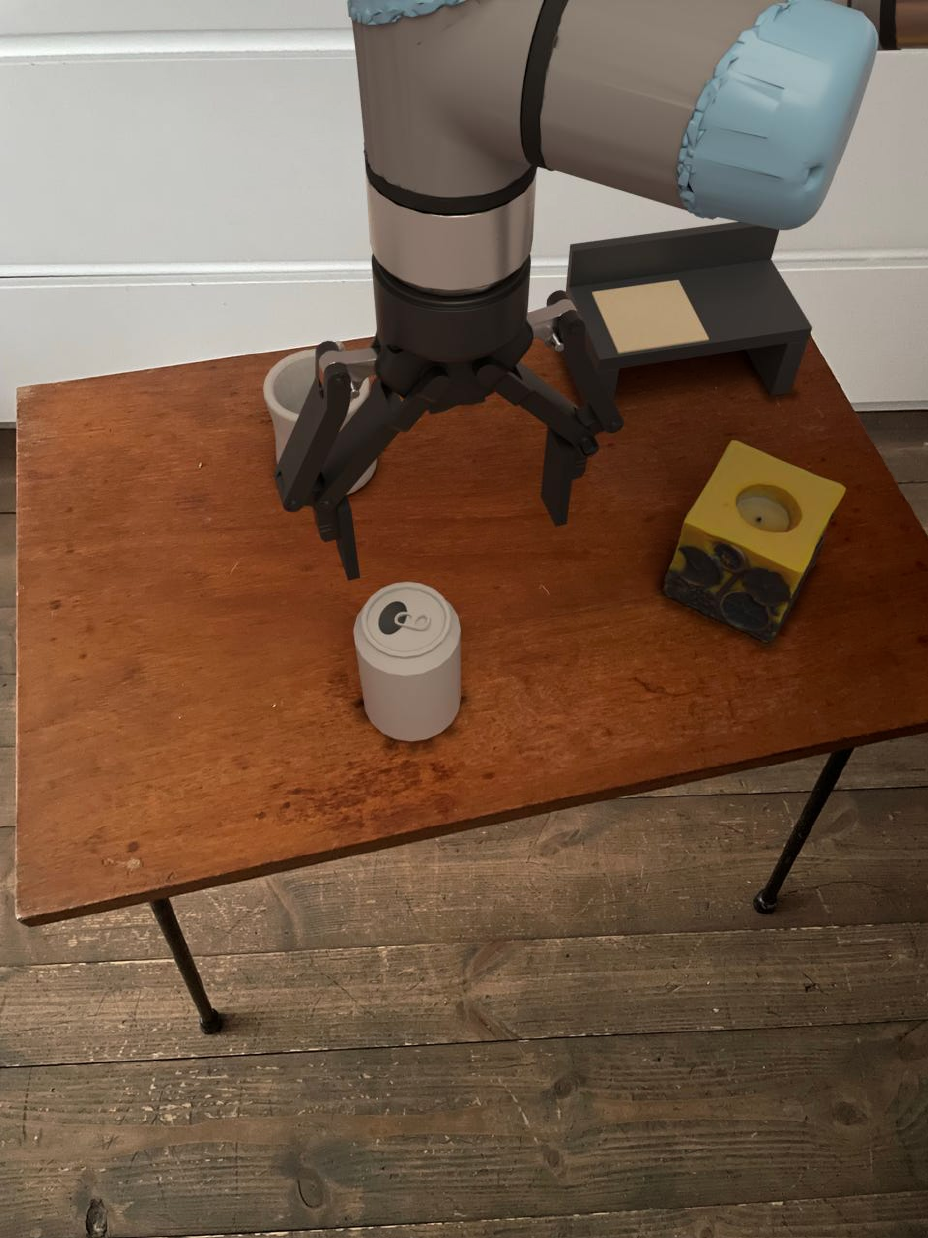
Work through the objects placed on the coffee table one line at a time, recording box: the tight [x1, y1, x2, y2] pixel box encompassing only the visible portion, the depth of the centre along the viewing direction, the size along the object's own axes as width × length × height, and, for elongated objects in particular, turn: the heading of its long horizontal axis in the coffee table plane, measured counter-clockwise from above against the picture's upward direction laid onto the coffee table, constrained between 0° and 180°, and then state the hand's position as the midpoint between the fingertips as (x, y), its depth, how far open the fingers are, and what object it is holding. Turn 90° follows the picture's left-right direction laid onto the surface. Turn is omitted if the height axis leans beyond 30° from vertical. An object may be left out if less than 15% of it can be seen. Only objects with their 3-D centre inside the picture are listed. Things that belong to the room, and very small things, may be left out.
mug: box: [262, 340, 378, 496], centre depth 93 cm, size 12×9×10 cm
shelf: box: [565, 221, 813, 406], centre depth 99 cm, size 20×11×12 cm, turn 102°
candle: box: [662, 439, 847, 644], centre depth 85 cm, size 10×10×10 cm
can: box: [352, 581, 462, 742], centre depth 77 cm, size 8×8×12 cm
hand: (452, 536), depth 67 cm, fingers open, 13 cm apart
